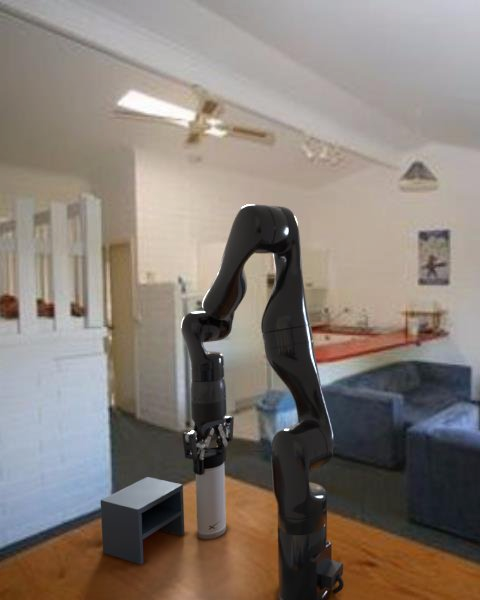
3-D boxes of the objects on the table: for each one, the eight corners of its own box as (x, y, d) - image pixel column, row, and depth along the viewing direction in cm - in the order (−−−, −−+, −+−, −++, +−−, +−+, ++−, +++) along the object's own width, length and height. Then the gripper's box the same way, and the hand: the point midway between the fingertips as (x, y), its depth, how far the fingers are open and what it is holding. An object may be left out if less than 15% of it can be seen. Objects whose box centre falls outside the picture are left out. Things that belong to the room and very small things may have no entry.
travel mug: (217, 541, 109) (215, 456, 107) (191, 537, 110) (189, 453, 108) (232, 526, 115) (230, 445, 113) (207, 523, 116) (205, 443, 114)
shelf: (184, 534, 111) (182, 484, 110) (140, 564, 100) (138, 509, 99) (149, 524, 115) (147, 476, 114) (102, 553, 104) (100, 500, 103)
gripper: (198, 408, 102) (200, 484, 103) (242, 391, 115) (244, 458, 116) (171, 404, 104) (173, 478, 106) (217, 388, 118) (219, 453, 119)
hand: (210, 467), depth 111 cm, fingers closed on travel mug, 6 cm apart
